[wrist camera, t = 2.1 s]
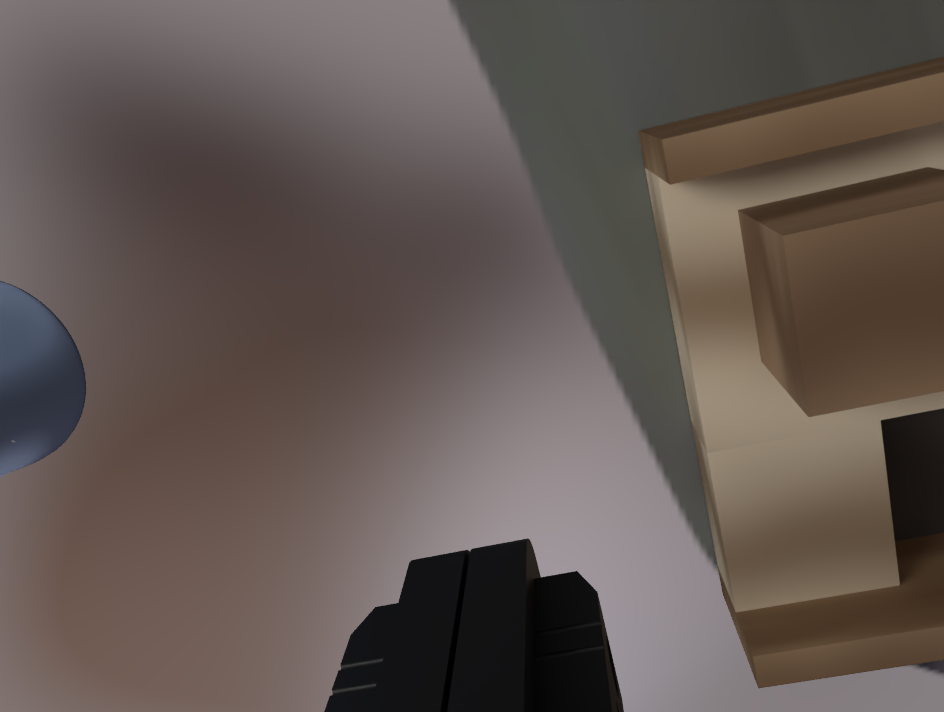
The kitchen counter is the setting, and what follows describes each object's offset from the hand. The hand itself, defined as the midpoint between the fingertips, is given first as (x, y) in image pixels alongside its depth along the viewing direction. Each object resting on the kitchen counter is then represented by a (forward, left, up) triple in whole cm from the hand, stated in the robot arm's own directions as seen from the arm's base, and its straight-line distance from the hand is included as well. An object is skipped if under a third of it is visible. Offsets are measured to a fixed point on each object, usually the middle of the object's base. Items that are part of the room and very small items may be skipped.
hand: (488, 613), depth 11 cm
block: (0, +8, -12) cm, 15 cm away
